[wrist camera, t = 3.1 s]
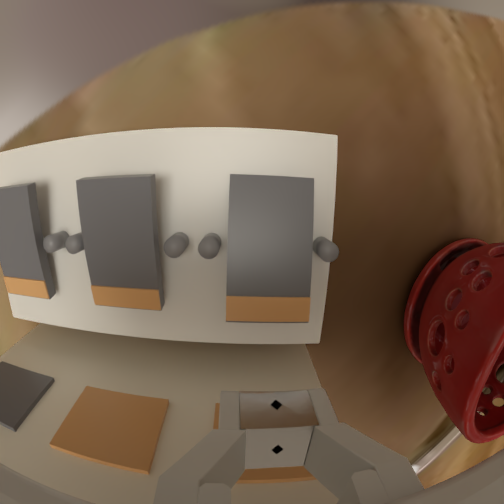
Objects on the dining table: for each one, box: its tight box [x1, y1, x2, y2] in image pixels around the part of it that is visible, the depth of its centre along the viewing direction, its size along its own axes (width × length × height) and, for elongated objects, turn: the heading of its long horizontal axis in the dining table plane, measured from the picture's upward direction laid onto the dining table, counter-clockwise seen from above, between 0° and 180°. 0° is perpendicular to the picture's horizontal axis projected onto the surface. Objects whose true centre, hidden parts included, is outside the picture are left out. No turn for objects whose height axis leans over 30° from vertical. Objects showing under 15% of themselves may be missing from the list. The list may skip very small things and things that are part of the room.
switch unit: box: [0, 127, 339, 504], centre depth 12 cm, size 22×15×16 cm
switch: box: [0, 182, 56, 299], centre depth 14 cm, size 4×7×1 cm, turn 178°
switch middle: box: [76, 174, 165, 311], centre depth 14 cm, size 4×7×1 cm, turn 178°
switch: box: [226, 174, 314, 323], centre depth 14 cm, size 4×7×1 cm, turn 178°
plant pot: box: [404, 238, 504, 443], centre depth 15 cm, size 13×13×12 cm
